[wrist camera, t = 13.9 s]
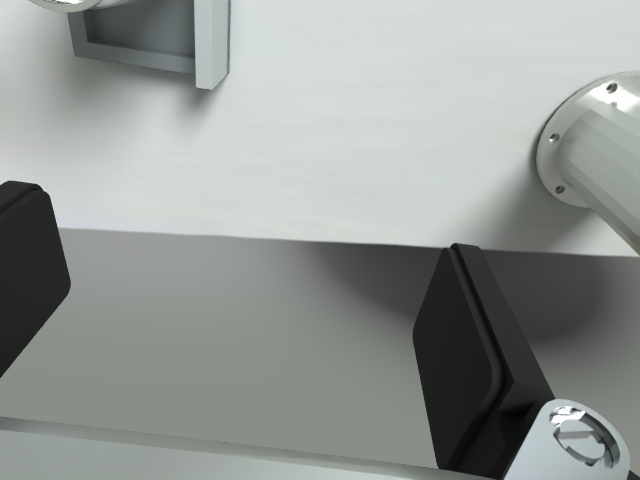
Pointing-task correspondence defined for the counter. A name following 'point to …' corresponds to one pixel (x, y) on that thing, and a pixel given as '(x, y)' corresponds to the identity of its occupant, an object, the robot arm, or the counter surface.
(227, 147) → the counter surface
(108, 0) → the beer glass
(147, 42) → the guarded tray
